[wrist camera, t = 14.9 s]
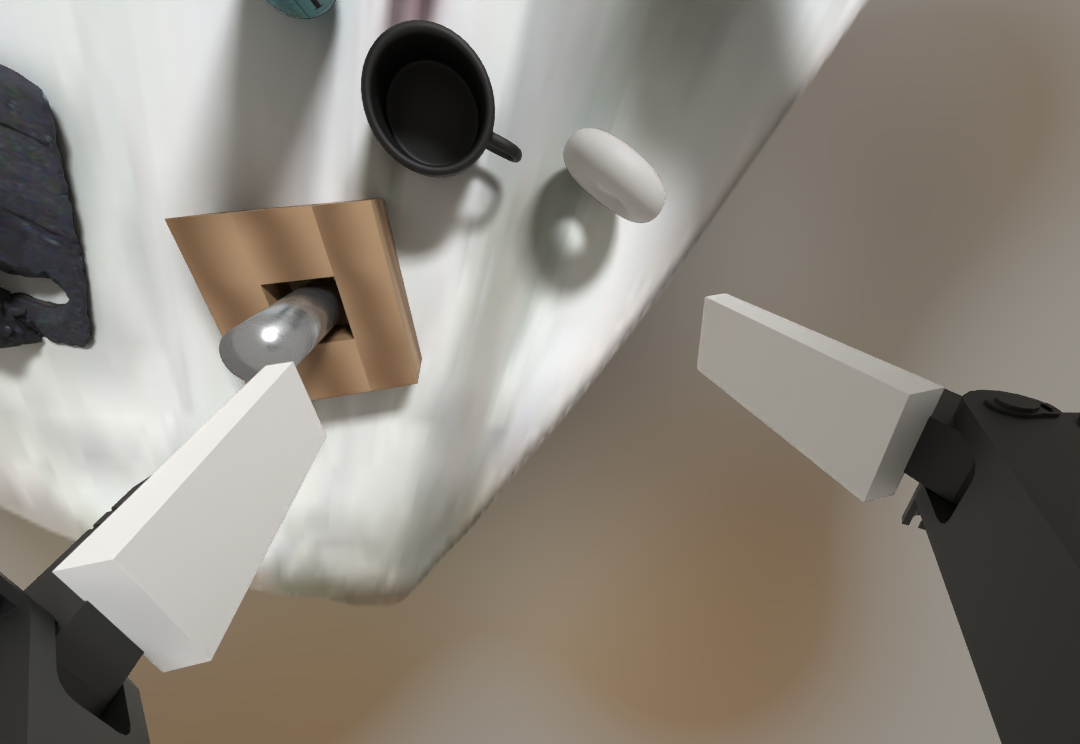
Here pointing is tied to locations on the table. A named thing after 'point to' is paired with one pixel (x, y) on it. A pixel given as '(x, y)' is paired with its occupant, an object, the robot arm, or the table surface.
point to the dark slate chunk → (36, 221)
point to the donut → (614, 175)
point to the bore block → (297, 258)
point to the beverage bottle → (303, 7)
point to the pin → (283, 329)
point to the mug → (430, 100)
